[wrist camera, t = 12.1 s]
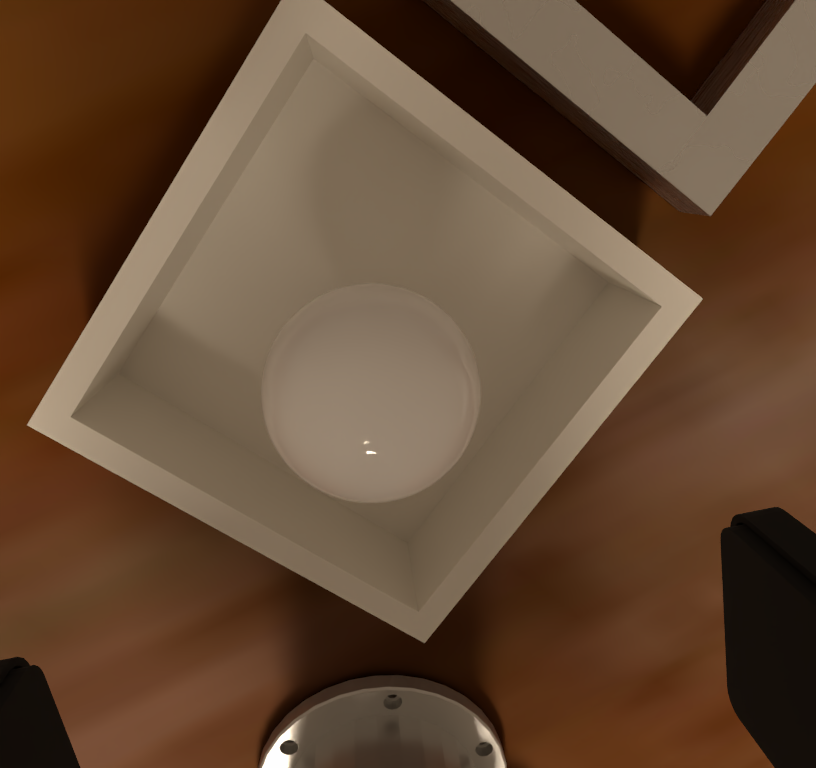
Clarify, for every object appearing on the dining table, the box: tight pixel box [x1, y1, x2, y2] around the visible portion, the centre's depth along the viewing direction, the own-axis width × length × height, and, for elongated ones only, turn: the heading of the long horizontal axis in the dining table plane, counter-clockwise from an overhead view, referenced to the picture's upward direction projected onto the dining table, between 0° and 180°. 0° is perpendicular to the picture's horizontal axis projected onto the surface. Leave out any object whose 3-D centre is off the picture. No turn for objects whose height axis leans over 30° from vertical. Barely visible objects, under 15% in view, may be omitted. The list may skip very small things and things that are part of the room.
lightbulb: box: [260, 283, 481, 504], centre depth 22 cm, size 6×6×11 cm
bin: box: [27, 0, 703, 643], centre depth 26 cm, size 16×16×6 cm
